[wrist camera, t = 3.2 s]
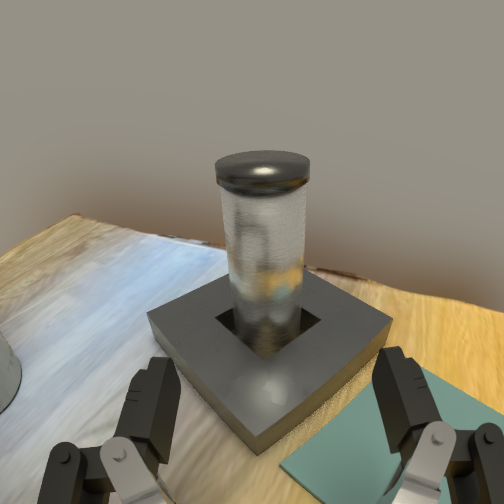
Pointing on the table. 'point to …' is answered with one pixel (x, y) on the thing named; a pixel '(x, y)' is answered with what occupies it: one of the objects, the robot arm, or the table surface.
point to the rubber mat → (373, 446)
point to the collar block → (274, 367)
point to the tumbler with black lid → (265, 244)
